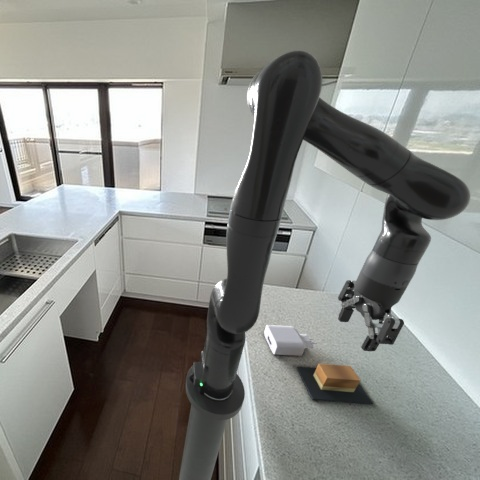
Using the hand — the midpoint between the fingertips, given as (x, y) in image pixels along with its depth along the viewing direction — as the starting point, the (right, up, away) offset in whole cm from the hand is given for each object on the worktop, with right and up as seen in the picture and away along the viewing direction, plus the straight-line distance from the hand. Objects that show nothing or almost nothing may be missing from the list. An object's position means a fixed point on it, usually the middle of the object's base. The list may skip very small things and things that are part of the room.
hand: (353, 334), depth 58 cm
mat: (+5, -20, +15) cm, 25 cm away
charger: (-1, -14, +27) cm, 31 cm away
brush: (+5, -19, +15) cm, 25 cm away
